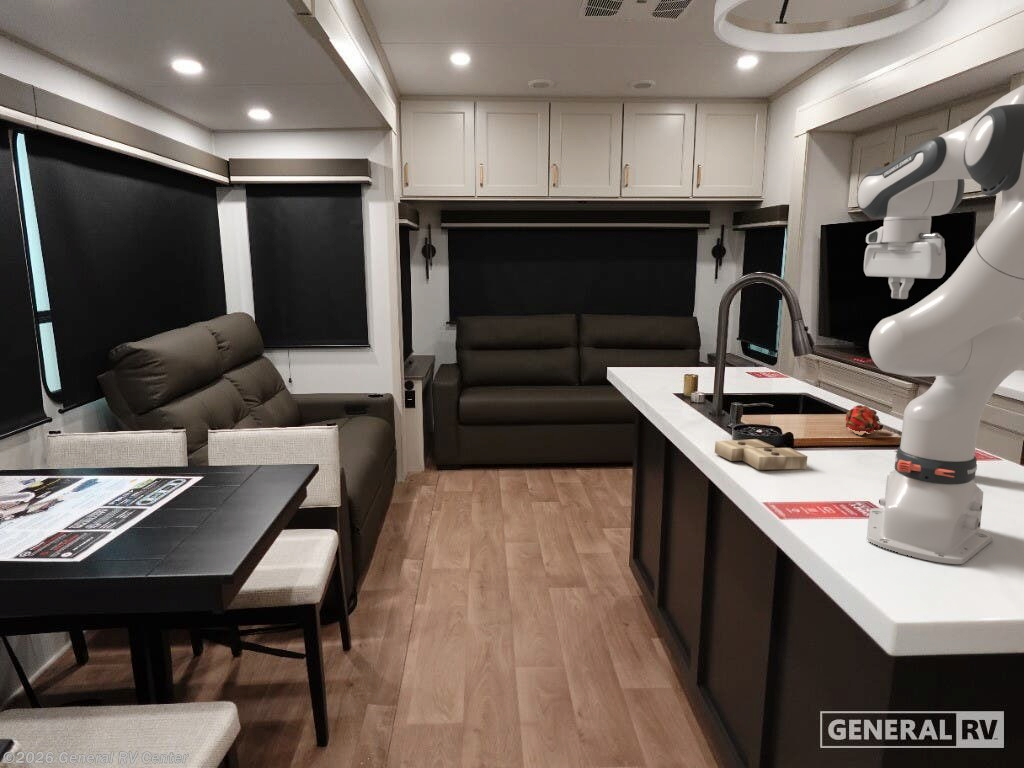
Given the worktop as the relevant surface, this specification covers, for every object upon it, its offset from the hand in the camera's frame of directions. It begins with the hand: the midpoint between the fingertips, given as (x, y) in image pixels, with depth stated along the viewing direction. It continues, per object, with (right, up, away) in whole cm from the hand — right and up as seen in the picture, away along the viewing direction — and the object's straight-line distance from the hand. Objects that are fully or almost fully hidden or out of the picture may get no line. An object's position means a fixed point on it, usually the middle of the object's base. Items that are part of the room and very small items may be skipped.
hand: (899, 298), depth 142 cm
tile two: (-18, -36, +11) cm, 42 cm away
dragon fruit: (+11, -33, +36) cm, 50 cm away
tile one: (-22, -35, +19) cm, 46 cm away
